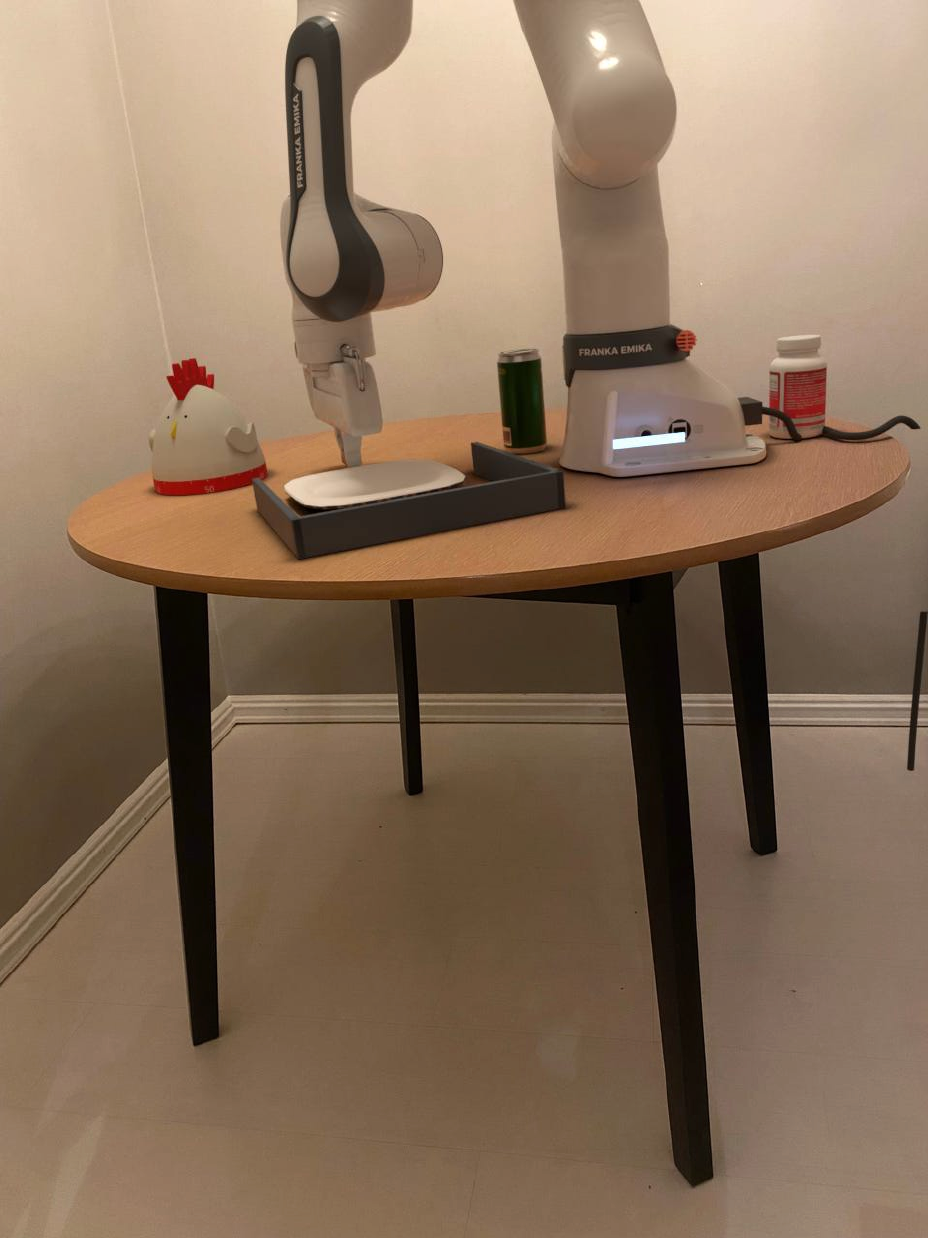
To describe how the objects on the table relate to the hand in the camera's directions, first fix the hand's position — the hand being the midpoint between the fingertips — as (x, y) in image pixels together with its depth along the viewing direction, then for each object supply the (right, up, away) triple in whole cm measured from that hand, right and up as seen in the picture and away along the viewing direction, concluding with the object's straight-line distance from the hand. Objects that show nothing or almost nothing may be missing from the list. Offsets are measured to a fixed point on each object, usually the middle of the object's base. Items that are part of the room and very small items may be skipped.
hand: (352, 464), depth 111 cm
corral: (+7, -7, -16) cm, 19 cm away
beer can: (+21, +3, +7) cm, 22 cm away
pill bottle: (+52, +3, -1) cm, 52 cm away
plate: (+4, -5, -9) cm, 11 cm away
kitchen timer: (-18, -1, +7) cm, 20 cm away
